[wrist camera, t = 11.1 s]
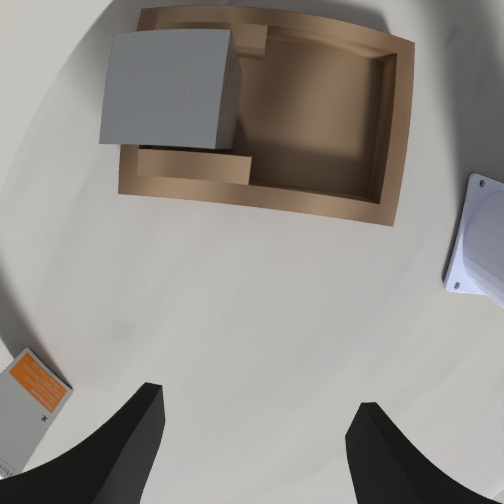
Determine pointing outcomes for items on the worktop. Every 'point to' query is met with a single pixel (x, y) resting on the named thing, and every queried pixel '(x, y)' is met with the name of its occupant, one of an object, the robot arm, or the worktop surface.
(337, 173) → the wooden tray
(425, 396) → the worktop surface
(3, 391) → the skincare box
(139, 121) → the metal peg
